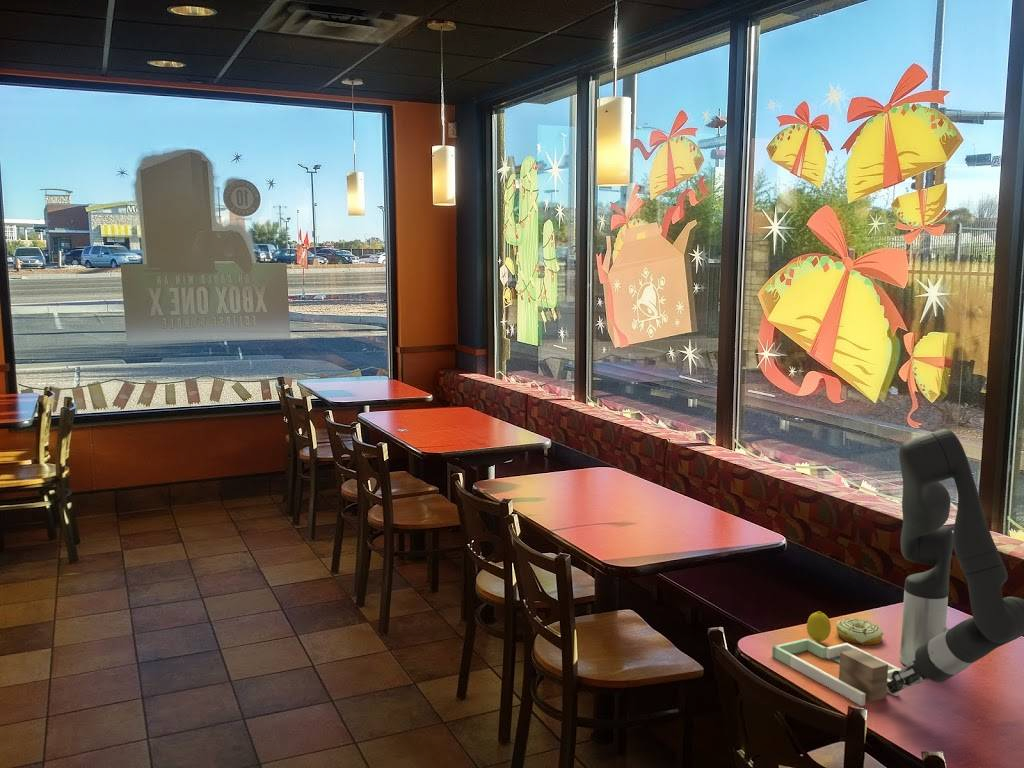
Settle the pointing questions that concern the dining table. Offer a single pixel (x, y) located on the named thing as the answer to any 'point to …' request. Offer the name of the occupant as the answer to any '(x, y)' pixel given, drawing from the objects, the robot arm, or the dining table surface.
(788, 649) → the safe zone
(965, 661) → the robot arm
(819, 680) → the box
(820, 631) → the lemon
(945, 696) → the dining table surface
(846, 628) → the decorated donut
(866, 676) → the block
